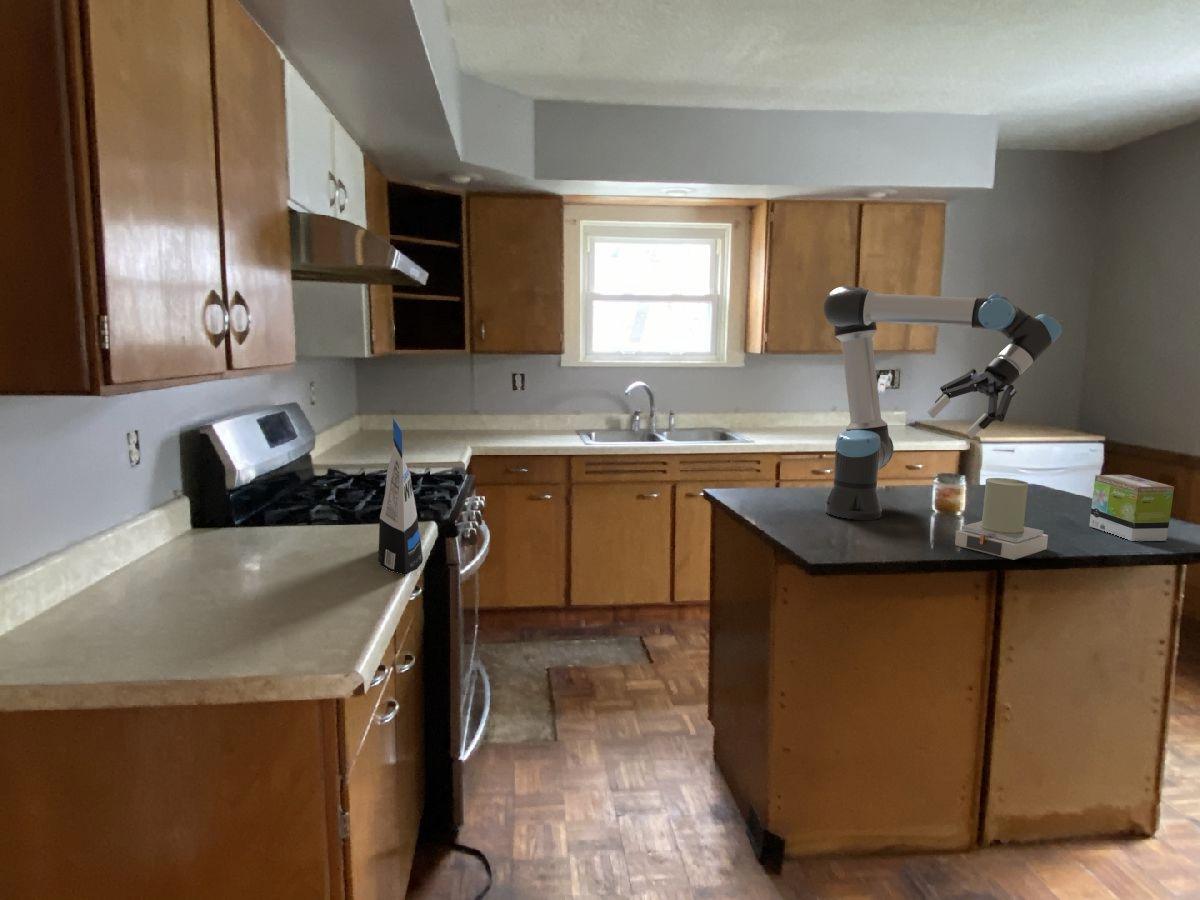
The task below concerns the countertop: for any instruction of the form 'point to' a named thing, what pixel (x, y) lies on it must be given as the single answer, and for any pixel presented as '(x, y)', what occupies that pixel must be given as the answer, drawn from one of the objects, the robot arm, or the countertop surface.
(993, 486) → the can
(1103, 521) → the tea box
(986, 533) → the scale pan
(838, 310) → the robot arm
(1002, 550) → the scale
